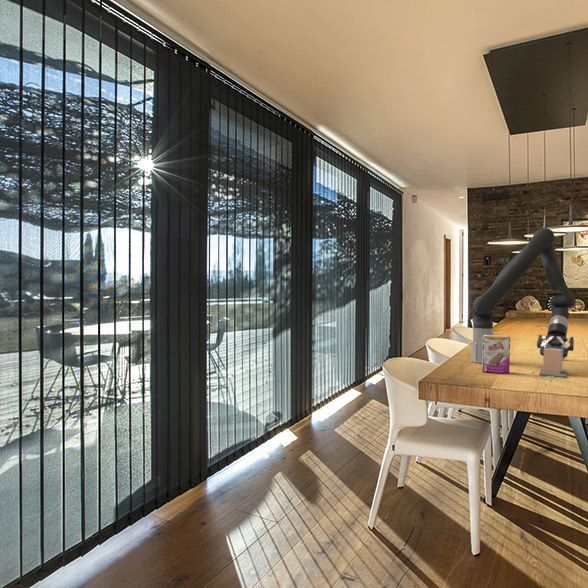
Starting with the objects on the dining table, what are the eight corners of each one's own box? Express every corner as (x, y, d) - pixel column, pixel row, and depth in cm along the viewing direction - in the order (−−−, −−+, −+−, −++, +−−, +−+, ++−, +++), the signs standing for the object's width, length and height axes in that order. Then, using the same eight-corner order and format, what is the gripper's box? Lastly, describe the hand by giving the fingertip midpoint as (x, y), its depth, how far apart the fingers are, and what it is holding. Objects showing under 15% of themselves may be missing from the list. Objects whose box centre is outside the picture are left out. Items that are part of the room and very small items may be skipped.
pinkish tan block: (543, 372, 209) (543, 349, 209) (546, 370, 214) (546, 347, 214) (559, 373, 205) (560, 350, 205) (562, 371, 211) (562, 349, 210)
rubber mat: (565, 378, 200) (565, 376, 200) (539, 375, 205) (539, 373, 205) (566, 372, 214) (566, 370, 214) (541, 370, 219) (541, 368, 219)
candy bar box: (482, 372, 212) (482, 335, 212) (481, 370, 217) (482, 334, 216) (509, 374, 208) (510, 336, 208) (508, 372, 213) (509, 335, 213)
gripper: (539, 321, 220) (534, 348, 211) (575, 323, 212) (571, 351, 203) (541, 332, 225) (536, 359, 216) (576, 334, 216) (572, 362, 207)
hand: (553, 355), depth 209 cm, fingers open, 8 cm apart
